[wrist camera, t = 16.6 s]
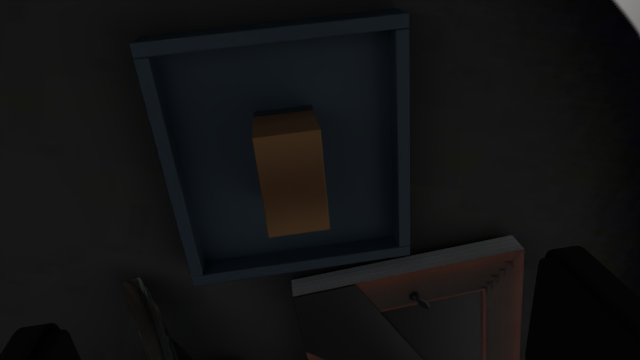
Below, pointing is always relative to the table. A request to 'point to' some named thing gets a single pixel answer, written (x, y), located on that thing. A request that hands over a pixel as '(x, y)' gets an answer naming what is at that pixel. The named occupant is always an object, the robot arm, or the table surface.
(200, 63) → the tray
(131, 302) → the bird figurine
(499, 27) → the table surface
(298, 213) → the brown wooden block
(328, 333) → the picture frame
